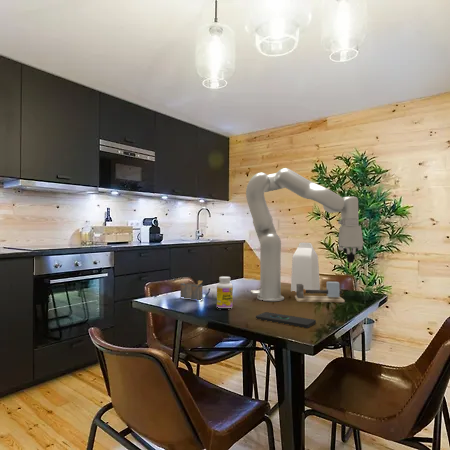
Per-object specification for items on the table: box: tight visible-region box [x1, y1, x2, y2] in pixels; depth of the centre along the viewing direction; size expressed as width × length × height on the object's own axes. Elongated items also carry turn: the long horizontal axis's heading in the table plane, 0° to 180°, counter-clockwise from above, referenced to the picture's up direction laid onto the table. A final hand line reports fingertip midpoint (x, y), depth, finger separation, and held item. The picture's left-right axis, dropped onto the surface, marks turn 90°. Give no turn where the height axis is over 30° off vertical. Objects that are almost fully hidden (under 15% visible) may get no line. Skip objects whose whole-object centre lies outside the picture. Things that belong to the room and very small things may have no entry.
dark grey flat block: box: [255, 311, 317, 329], centre depth 120 cm, size 8×2×20 cm
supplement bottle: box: [216, 276, 234, 309], centre depth 140 cm, size 7×7×13 cm
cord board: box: [294, 284, 346, 303], centre depth 157 cm, size 21×9×7 cm, turn 85°
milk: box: [290, 242, 321, 295], centre depth 182 cm, size 12×12×26 cm
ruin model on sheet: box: [180, 280, 204, 300], centre depth 157 cm, size 11×3×10 cm, turn 54°
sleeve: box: [325, 281, 341, 297], centre depth 157 cm, size 5×4×6 cm
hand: (350, 262), depth 156 cm, fingers closed
